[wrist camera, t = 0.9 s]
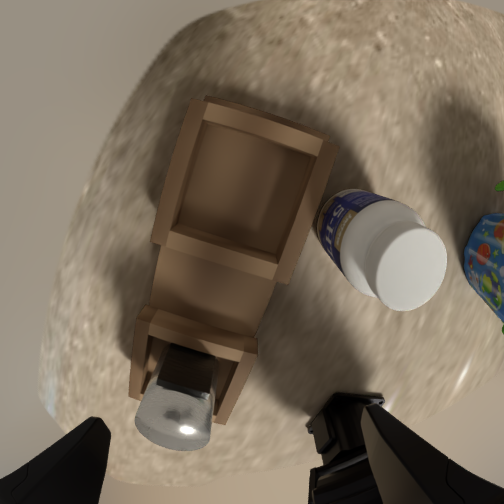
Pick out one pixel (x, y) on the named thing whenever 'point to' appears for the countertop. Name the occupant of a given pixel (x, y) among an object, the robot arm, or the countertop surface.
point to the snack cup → (487, 260)
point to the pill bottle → (382, 248)
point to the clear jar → (179, 399)
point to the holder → (228, 237)
